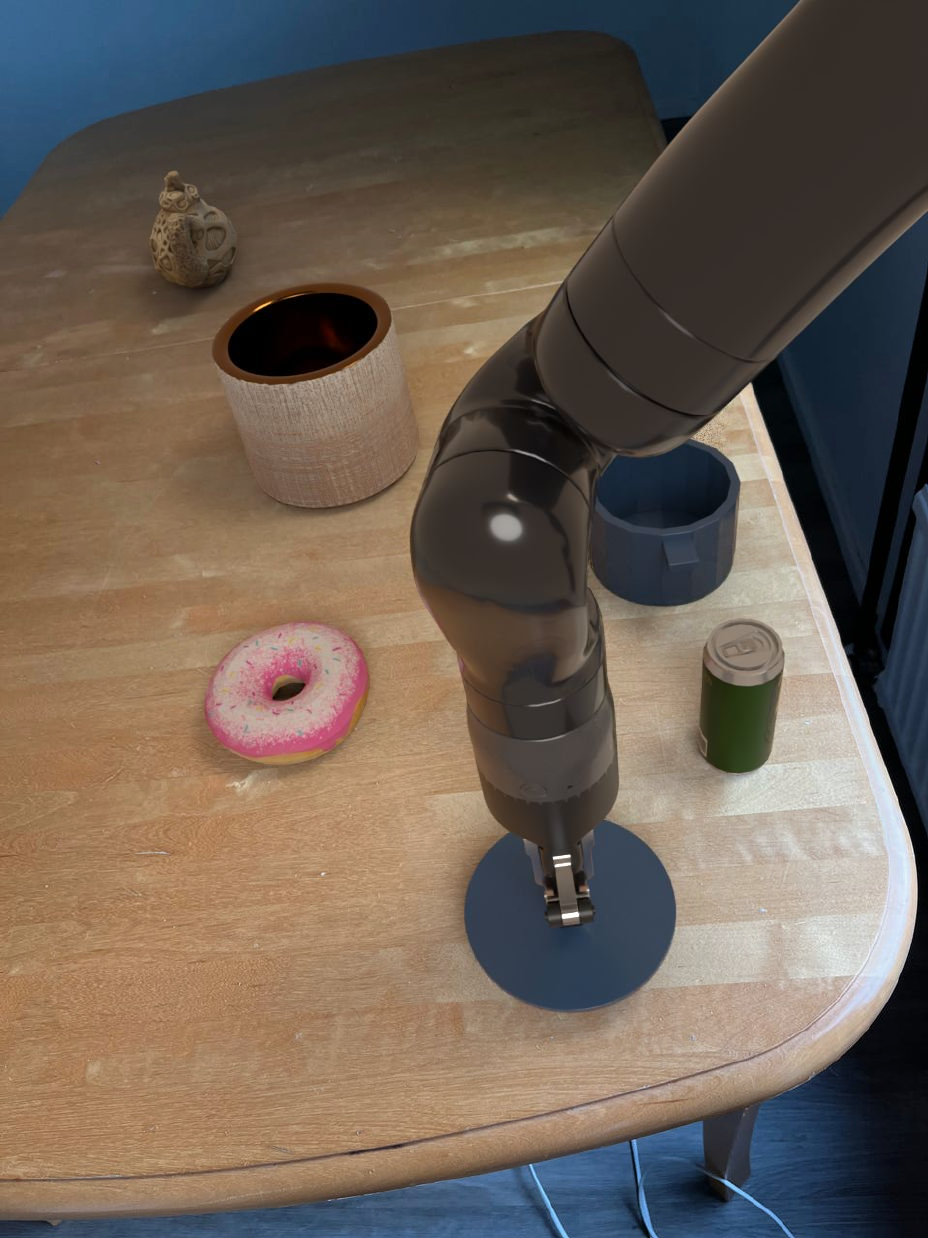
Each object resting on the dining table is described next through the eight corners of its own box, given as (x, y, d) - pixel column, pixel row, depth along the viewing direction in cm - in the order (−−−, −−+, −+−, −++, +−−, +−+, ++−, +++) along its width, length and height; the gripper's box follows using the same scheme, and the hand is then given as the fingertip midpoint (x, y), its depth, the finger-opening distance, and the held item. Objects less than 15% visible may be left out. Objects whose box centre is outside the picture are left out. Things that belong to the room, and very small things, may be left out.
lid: (653, 810, 72) (652, 760, 67) (697, 1002, 62) (699, 959, 58) (459, 836, 73) (446, 788, 68) (474, 1030, 63) (459, 990, 59)
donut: (209, 788, 81) (189, 752, 78) (223, 661, 90) (205, 623, 87) (376, 763, 81) (363, 726, 77) (372, 638, 90) (361, 599, 86)
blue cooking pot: (708, 481, 98) (712, 408, 92) (757, 618, 85) (765, 544, 79) (577, 500, 98) (572, 429, 92) (607, 639, 86) (604, 567, 80)
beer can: (715, 788, 75) (724, 686, 66) (686, 732, 79) (690, 628, 70) (784, 766, 75) (801, 662, 67) (751, 712, 79) (763, 606, 70)
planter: (424, 401, 113) (399, 270, 101) (416, 507, 101) (386, 373, 89) (269, 416, 115) (227, 290, 103) (242, 523, 103) (192, 393, 91)
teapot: (162, 257, 145) (122, 150, 134) (241, 237, 146) (208, 130, 135) (167, 333, 131) (122, 220, 120) (255, 311, 131) (219, 197, 120)
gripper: (640, 845, 48) (645, 994, 61) (594, 629, 58) (607, 796, 70) (483, 866, 49) (520, 1010, 61) (463, 648, 58) (499, 811, 71)
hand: (567, 895), depth 66 cm, fingers closed on lid, 2 cm apart
